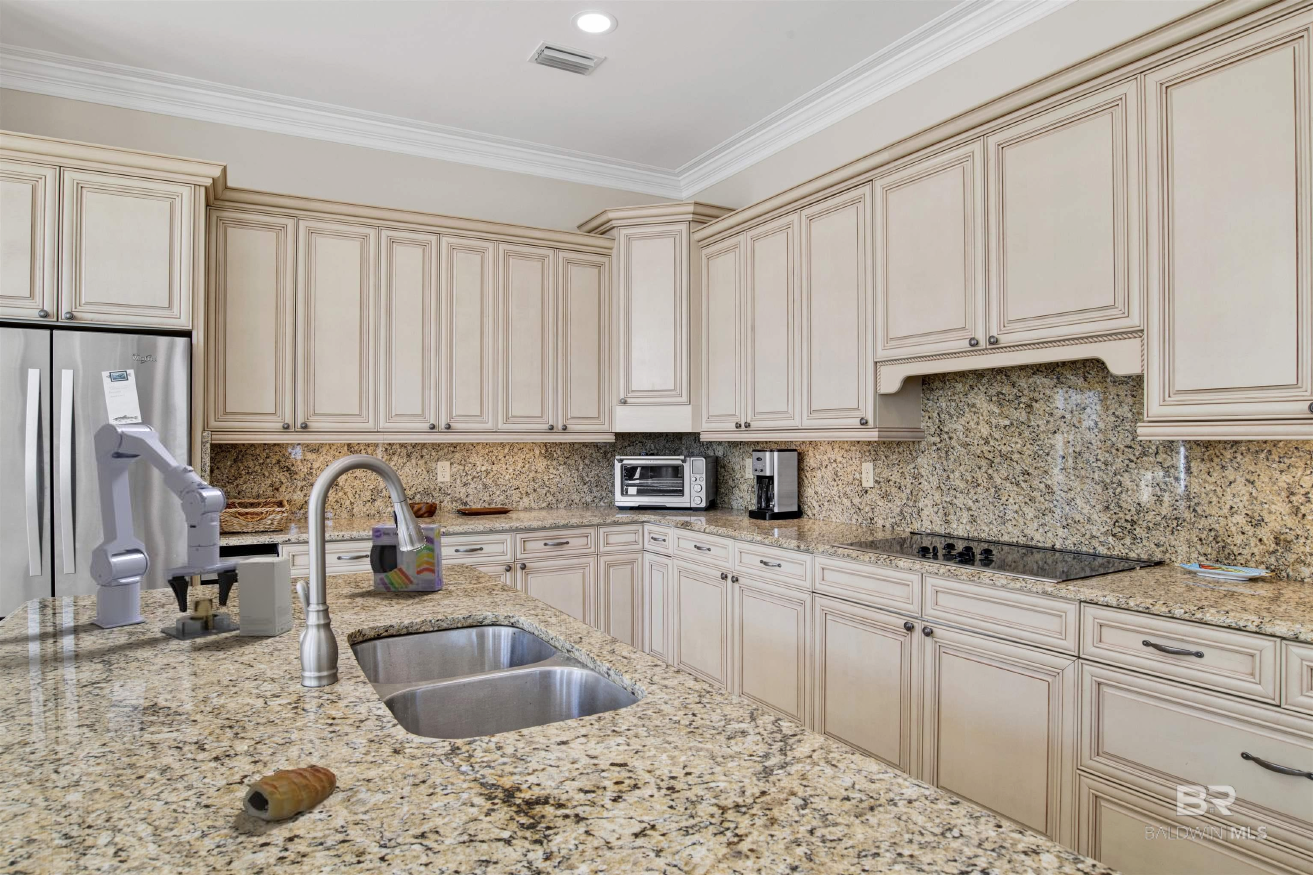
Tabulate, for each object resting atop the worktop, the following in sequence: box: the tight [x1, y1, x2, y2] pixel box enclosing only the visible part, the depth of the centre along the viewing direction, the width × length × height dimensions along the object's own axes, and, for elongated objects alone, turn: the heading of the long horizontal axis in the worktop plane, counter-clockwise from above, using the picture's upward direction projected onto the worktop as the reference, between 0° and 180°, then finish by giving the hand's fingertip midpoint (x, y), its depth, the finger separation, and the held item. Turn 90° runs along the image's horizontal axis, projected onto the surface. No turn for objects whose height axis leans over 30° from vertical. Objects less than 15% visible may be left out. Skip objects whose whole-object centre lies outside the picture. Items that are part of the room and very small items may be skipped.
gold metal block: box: [192, 597, 214, 630], centre depth 157 cm, size 5×4×6 cm
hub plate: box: [160, 611, 240, 641], centre depth 158 cm, size 12×12×3 cm
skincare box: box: [237, 556, 294, 637], centre depth 155 cm, size 8×7×16 cm
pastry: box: [242, 766, 338, 822], centre depth 83 cm, size 9×7×4 cm
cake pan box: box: [369, 523, 444, 592], centre depth 200 cm, size 19×5×18 cm, turn 80°
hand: (203, 608), depth 158 cm, fingers open, 7 cm apart
